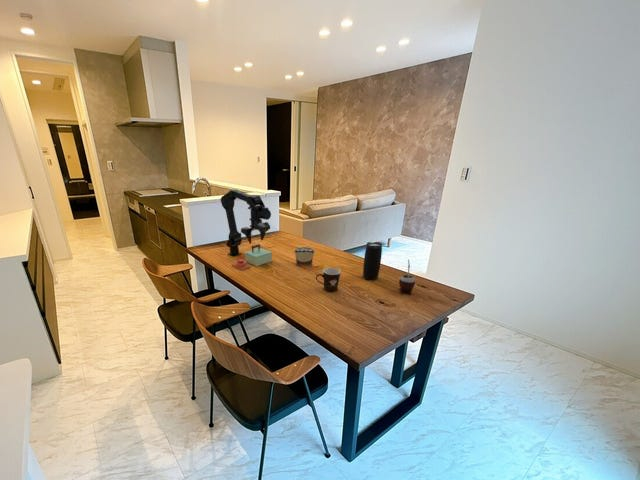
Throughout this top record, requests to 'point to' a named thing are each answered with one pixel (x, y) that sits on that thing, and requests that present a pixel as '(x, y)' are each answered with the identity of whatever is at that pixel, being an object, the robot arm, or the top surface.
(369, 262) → the portable speaker
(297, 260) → the food container
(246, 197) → the robot arm
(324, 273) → the coffee mug
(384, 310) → the top surface
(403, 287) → the mate gourd
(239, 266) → the button block
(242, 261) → the button
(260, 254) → the machine lid
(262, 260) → the machine
